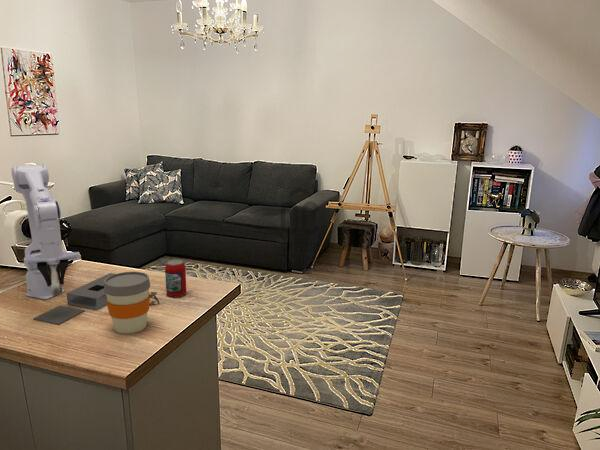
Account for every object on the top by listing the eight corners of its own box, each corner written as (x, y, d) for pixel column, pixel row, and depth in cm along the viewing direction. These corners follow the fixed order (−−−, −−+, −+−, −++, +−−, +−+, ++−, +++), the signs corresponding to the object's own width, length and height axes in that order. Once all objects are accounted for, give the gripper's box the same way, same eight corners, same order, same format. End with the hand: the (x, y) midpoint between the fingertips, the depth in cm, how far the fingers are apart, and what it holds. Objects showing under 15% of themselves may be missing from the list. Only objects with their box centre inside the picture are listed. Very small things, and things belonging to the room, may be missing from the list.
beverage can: (162, 296, 153) (160, 263, 150) (174, 289, 159) (173, 257, 156) (178, 299, 151) (176, 266, 148) (190, 292, 157) (189, 260, 154)
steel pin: (49, 294, 135) (45, 265, 133) (57, 291, 138) (53, 262, 135) (56, 296, 134) (53, 266, 132) (64, 292, 137) (61, 263, 134)
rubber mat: (33, 319, 135) (33, 318, 135) (60, 306, 144) (60, 305, 144) (58, 325, 132) (58, 323, 131) (84, 311, 141) (84, 310, 141)
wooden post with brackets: (162, 302, 147) (155, 291, 145) (139, 314, 145) (132, 303, 143) (161, 299, 148) (155, 289, 147) (139, 312, 146) (132, 301, 145)
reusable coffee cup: (118, 316, 138) (114, 270, 134) (158, 317, 138) (155, 271, 134) (99, 335, 126) (94, 286, 122) (143, 337, 126) (140, 287, 122)
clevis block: (67, 304, 145) (66, 293, 144) (111, 283, 164) (110, 273, 163) (97, 310, 142) (95, 298, 141) (138, 287, 160) (137, 277, 159)
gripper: (20, 248, 125) (26, 292, 129) (77, 242, 131) (82, 285, 135) (23, 241, 131) (29, 284, 135) (77, 236, 138) (82, 277, 141)
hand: (55, 284), depth 135 cm, fingers closed on steel pin, 3 cm apart
